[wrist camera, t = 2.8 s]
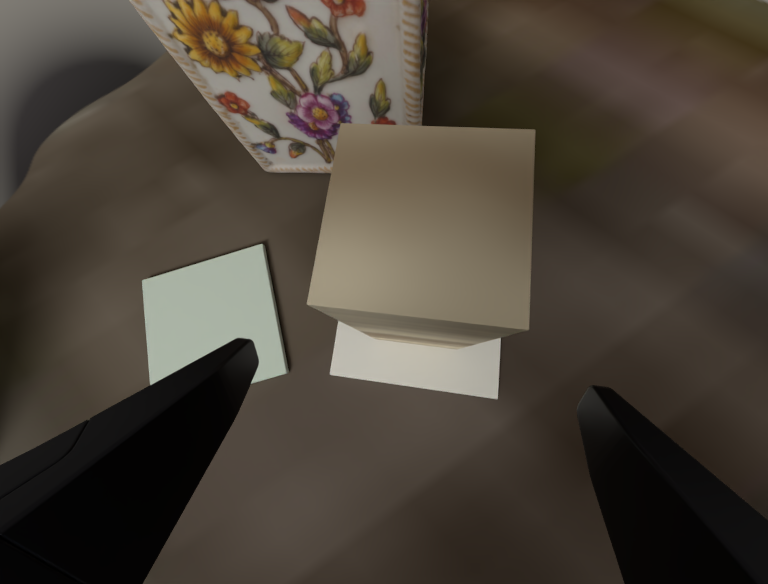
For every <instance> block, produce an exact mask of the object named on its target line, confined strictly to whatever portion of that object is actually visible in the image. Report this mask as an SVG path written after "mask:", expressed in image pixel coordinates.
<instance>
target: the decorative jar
mask: <svg viewBox="0 0 768 584" xmlns="http://www.w3.org/2000/svg"><path fill="white" fill-rule="evenodd" d="M129 1H130V3H131V4H132V5H133V6H134V7H135V8H136V10H137V11H138V13H139V14H140V15H141V17H142V18H143V19H144V21H145V22H146V23H147V24H148V26H149V27H150V28H151V30H152V31H153V32H154V33H155V34H156V36H157V37H158V39H159V40H160V41H161V42H162V44H163V45H164V47H165V48H166V50H167V51H168V52H169V53H170V54H171V56H172V57H173V58H174V59H175V60H176V62H177V63H178V64H179V65H180V67H181V68H182V69H183V70H184V72H185V73H186V75H187V76H188V77H189V78H190V79H191V81H192V82H193V84H194V85H195V86H196V87H197V89H198V90H199V91H200V93H201V94H202V95H203V97H204V98H205V99H206V100H207V101H208V103H209V104H210V105H211V107H212V108H213V109H214V110H215V111H216V112H217V114H218V115H219V116H220V118H221V119H222V120H223V121H224V122H225V124H226V125H227V126H228V127H229V129H230V130H231V131H232V132H233V133H234V135H235V136H236V137H237V139H238V140H239V141H240V142H241V143H242V144H243V146H244V147H245V148H246V149H247V150H248V151H249V153H250V154H251V155H252V156H253V157H254V159H255V160H256V161H257V162H258V163H259V164H260V166H261V167H262V168H263V169H264V170H265V171H267V172H275V173H331V172H332V167H333V162H334V156H335V151H336V145H337V140H338V135H339V129H340V124H341V123H350V124H380V125H411V126H422V115H423V98H424V77H425V67H426V53H427V46H426V44H427V31H428V5H429V3H428V0H129Z"/></svg>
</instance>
